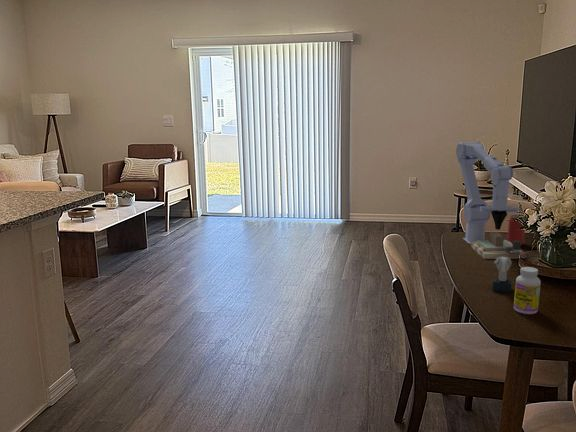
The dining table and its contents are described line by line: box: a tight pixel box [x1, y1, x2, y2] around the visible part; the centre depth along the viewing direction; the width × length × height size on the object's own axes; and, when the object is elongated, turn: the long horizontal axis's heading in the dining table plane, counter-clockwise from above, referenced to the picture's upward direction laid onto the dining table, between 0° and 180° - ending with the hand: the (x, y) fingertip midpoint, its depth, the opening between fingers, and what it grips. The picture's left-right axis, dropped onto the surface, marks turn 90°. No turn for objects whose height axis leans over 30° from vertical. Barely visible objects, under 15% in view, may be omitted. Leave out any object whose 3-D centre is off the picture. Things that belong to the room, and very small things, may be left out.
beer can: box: [506, 214, 526, 246], centre depth 231 cm, size 7×7×12 cm
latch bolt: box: [509, 241, 522, 252], centre depth 210 cm, size 5×2×4 cm, turn 177°
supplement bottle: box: [513, 266, 542, 315], centre depth 159 cm, size 7×7×13 cm
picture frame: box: [470, 239, 525, 260], centre depth 220 cm, size 18×16×4 cm
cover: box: [477, 231, 513, 249], centre depth 221 cm, size 12×12×5 cm
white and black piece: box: [491, 257, 512, 294], centre depth 177 cm, size 6×8×11 cm
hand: (497, 229), depth 220 cm, fingers closed
